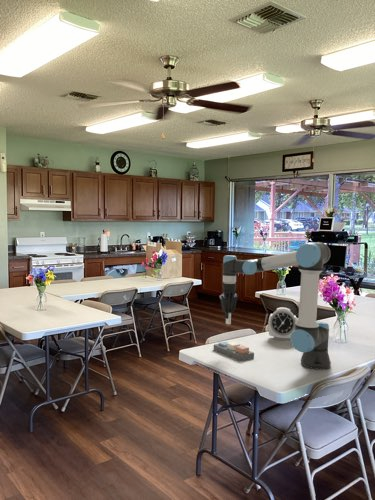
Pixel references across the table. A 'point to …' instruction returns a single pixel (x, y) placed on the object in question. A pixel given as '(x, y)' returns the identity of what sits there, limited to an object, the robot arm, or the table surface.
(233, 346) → the cream key
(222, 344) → the blue key
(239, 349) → the terracotta key
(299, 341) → the robot arm
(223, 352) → the key board
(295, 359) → the table surface
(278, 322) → the alarm clock
